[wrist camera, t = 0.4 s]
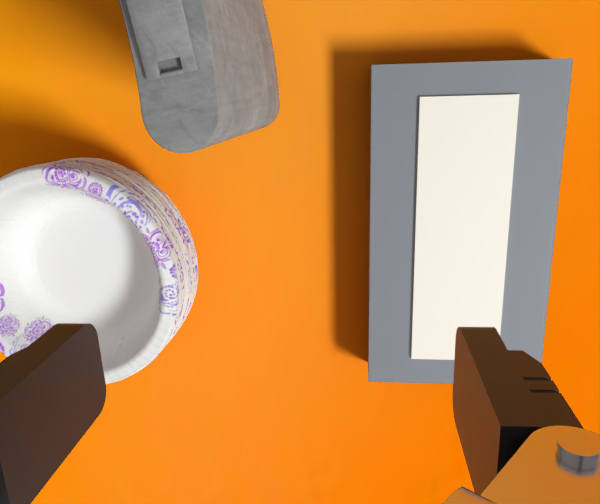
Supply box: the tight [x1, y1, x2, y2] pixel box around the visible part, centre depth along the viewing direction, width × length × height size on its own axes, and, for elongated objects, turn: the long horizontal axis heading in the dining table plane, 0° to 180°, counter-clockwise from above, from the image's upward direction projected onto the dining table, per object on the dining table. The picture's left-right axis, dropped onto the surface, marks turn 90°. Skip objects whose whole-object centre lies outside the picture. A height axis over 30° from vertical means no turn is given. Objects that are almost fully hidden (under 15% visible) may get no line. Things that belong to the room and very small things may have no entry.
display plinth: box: [368, 58, 573, 384], centre depth 38 cm, size 22×12×3 cm, turn 2°
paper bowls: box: [0, 157, 198, 384], centre depth 39 cm, size 15×15×8 cm
